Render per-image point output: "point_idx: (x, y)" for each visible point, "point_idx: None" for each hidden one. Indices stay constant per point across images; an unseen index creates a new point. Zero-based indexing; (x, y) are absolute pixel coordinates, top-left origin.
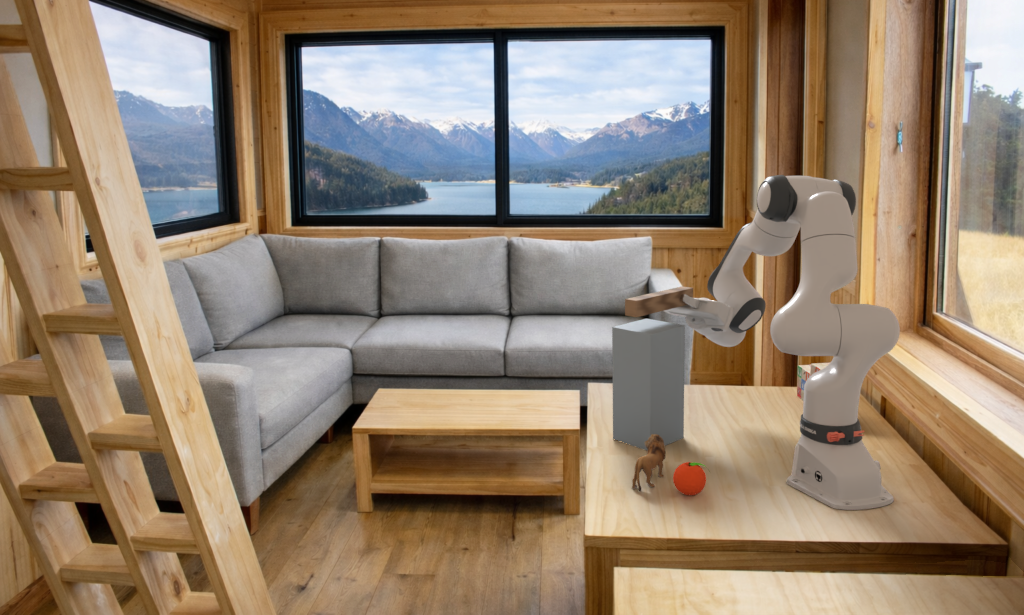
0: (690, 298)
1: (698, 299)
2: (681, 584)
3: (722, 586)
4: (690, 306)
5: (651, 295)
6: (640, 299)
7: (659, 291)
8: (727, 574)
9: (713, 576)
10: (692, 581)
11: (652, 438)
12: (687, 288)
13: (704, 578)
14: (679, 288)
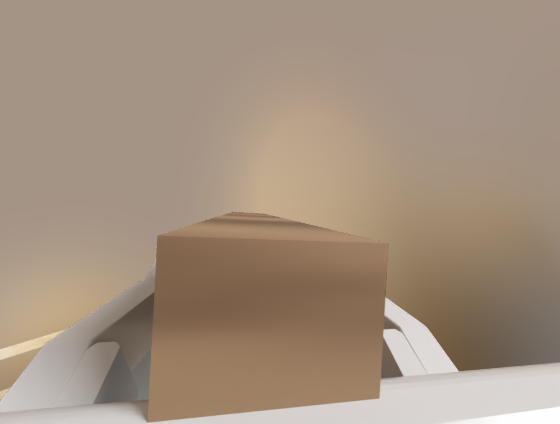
0: (135, 294)
1: (8, 412)
2: (60, 332)
3: (23, 342)
4: (137, 389)
5: (247, 214)
6: (234, 212)
7: (282, 218)
8: (14, 352)
9: (30, 346)
10: (51, 336)
11: None
12: (215, 227)
13: (39, 342)
14: (279, 226)
